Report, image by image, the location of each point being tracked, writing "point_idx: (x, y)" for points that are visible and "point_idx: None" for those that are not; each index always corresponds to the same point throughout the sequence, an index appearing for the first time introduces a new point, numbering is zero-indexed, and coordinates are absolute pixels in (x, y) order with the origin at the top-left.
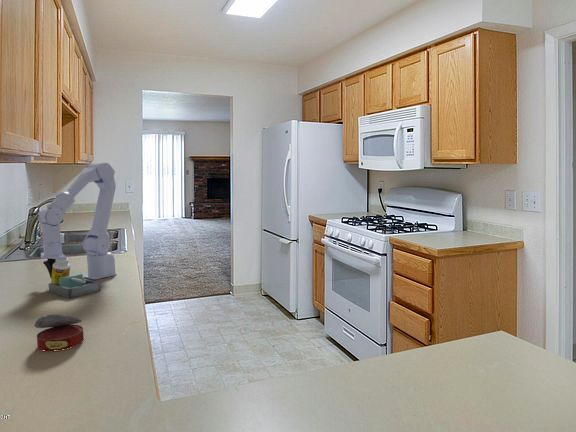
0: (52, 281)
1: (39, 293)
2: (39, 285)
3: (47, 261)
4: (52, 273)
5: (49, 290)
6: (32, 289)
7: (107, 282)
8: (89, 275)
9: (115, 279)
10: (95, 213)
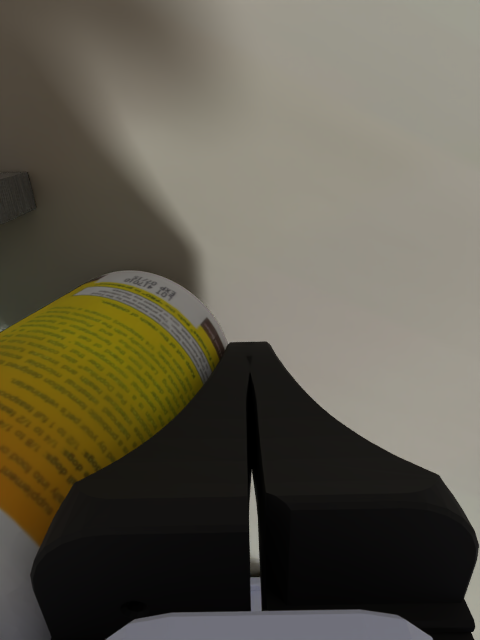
0: (91, 291)
1: (67, 69)
2: (468, 255)
3: (237, 563)
4: (21, 354)
5: (2, 175)
6: (362, 112)
7: None
8: (254, 605)
9: None
10: None
